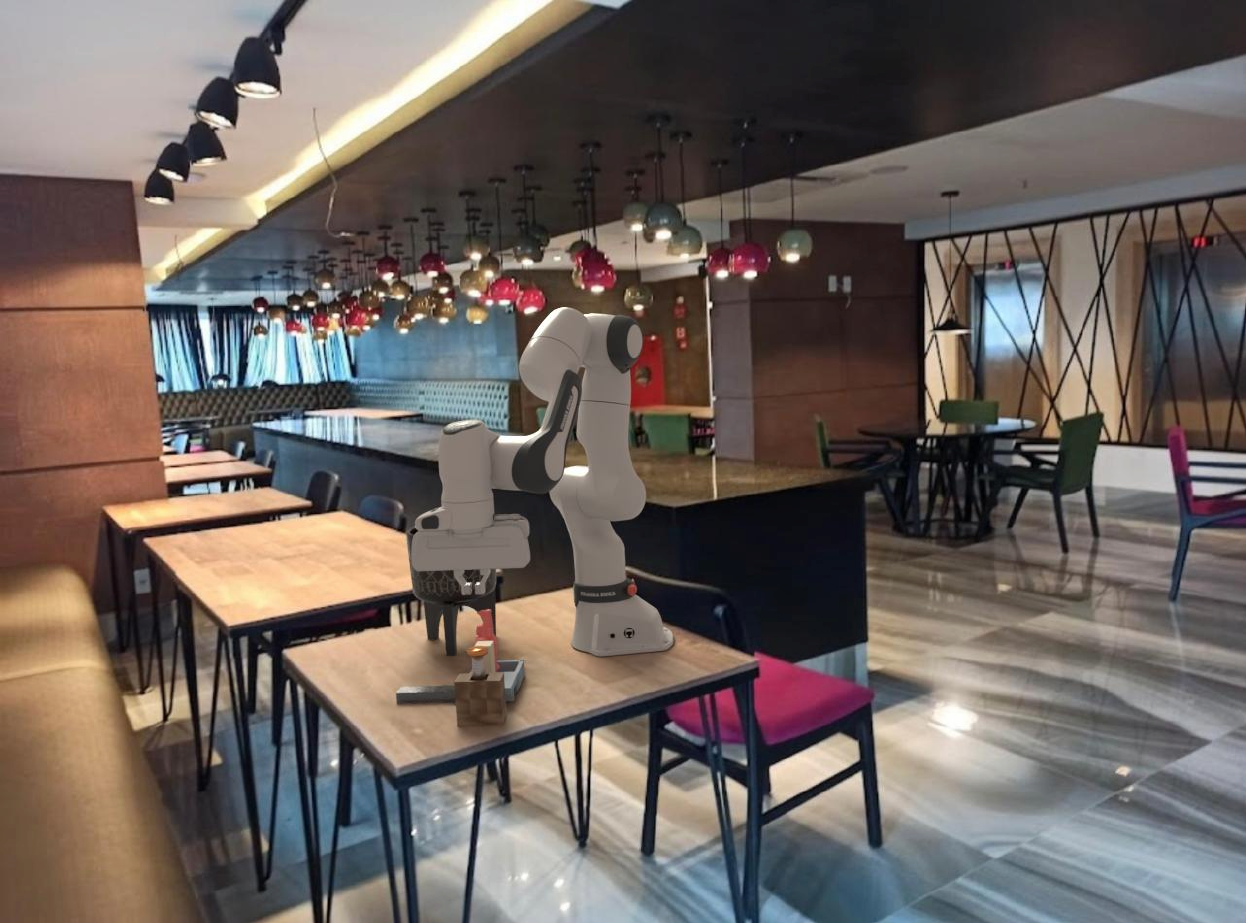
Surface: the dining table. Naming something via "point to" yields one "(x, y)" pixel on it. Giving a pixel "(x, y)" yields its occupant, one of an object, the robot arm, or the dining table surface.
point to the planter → (449, 597)
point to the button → (478, 661)
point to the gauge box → (480, 700)
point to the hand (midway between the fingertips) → (473, 593)
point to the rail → (426, 694)
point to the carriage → (504, 669)
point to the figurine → (487, 632)
